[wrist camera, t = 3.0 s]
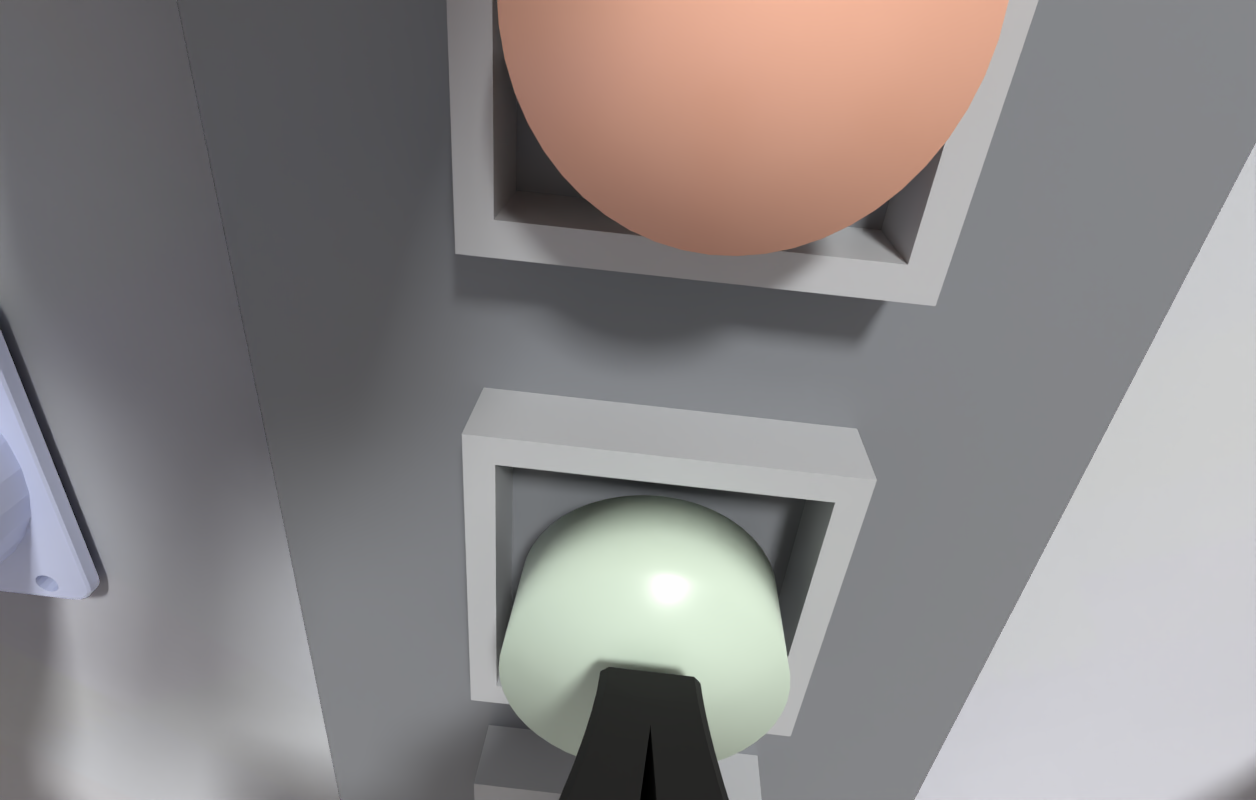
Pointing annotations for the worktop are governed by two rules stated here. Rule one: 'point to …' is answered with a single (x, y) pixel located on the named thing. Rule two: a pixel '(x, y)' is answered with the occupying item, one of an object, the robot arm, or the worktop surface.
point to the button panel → (689, 366)
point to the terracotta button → (744, 107)
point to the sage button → (646, 618)
